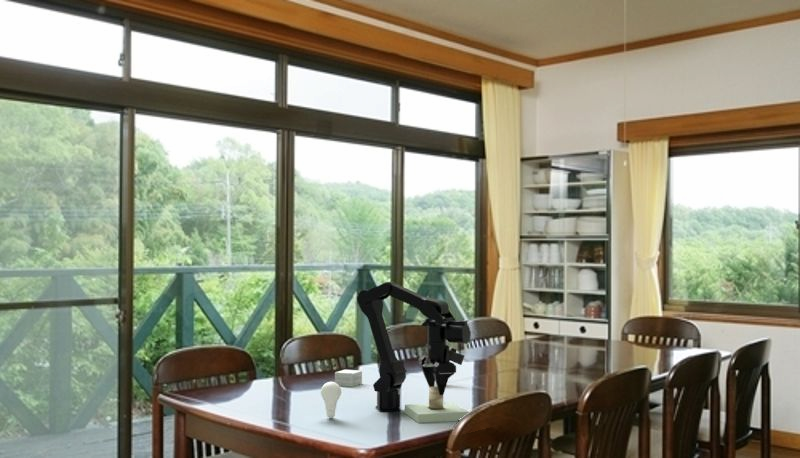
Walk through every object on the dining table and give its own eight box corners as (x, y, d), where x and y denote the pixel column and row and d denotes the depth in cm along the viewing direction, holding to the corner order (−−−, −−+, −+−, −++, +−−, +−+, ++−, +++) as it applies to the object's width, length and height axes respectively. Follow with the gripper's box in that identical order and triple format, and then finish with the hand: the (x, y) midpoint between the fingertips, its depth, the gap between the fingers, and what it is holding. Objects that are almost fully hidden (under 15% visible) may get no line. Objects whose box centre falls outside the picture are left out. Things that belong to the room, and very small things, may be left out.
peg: (431, 418, 227) (431, 389, 228) (426, 415, 232) (426, 386, 232) (445, 417, 229) (445, 388, 229) (440, 414, 233) (440, 386, 233)
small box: (344, 382, 288) (344, 369, 288) (362, 384, 284) (362, 370, 284) (334, 385, 281) (334, 372, 281) (352, 387, 277) (352, 373, 277)
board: (418, 422, 221) (418, 414, 221) (404, 412, 235) (404, 404, 235) (468, 419, 226) (468, 411, 226) (452, 410, 239) (452, 402, 239)
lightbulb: (317, 419, 224) (317, 382, 225) (326, 415, 230) (326, 379, 230) (335, 421, 222) (335, 384, 222) (344, 417, 228) (344, 380, 228)
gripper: (472, 344, 224) (472, 396, 224) (451, 337, 242) (450, 385, 241) (437, 345, 221) (437, 398, 220) (418, 338, 239) (417, 387, 238)
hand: (436, 392), depth 230 cm, fingers open, 9 cm apart
